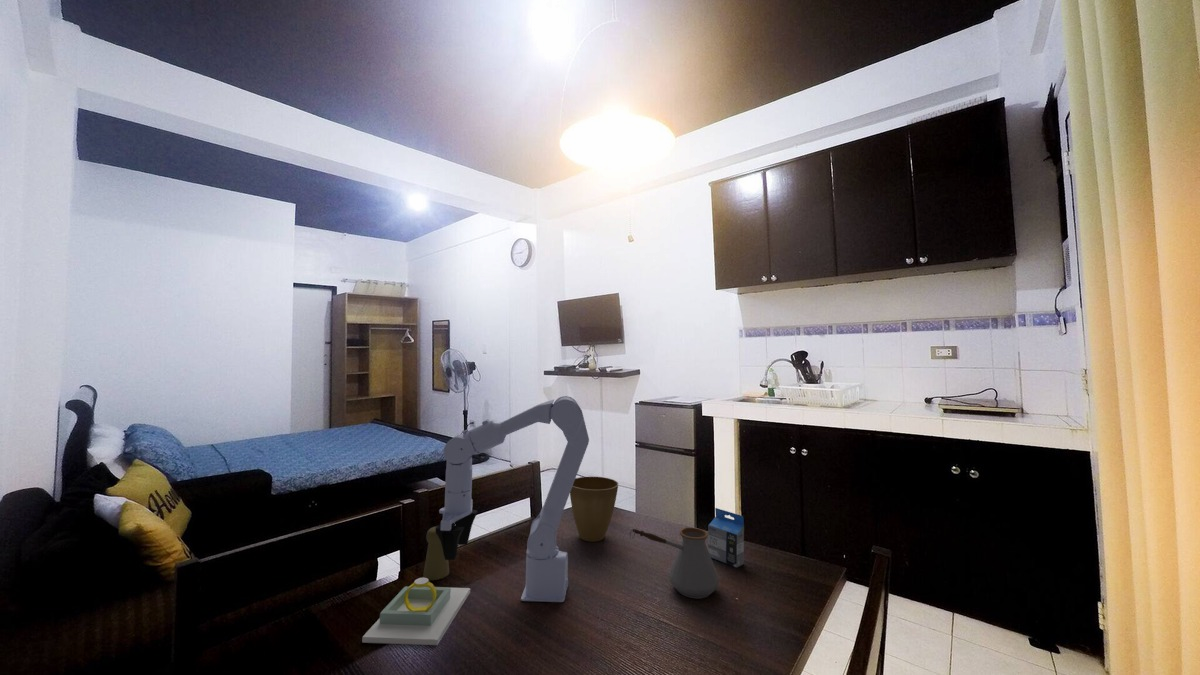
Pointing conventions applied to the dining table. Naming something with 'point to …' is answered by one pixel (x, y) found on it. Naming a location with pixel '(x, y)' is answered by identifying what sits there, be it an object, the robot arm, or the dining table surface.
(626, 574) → the dining table surface
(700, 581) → the coffee pot
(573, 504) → the plant pot
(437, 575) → the olive pawn shaped peg
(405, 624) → the pocket plate
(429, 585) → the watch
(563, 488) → the robot arm
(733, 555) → the label tape box
